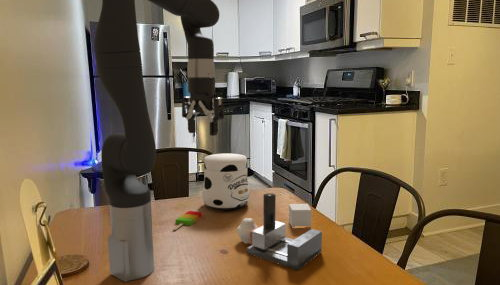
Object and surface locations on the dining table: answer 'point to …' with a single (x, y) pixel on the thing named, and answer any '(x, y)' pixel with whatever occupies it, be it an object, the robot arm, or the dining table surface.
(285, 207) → the dining table surface
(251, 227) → the white rounded ridged piece
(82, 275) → the dining table surface
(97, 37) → the robot arm
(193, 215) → the popsicle
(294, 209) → the white cube
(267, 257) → the jaw track
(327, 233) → the dining table surface
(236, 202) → the milk container
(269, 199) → the sliding jaw
